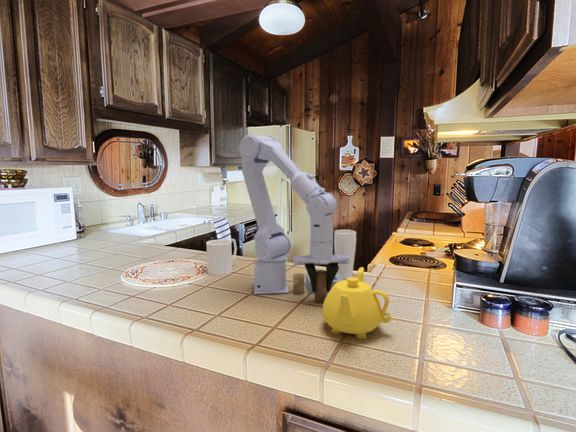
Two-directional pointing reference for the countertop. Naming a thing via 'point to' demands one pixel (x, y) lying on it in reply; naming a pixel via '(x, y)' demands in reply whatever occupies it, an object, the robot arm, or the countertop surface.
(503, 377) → the countertop surface
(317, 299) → the walnut dowel
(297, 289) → the oak stub
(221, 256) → the cup
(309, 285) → the socket block
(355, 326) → the teapot
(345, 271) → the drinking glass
